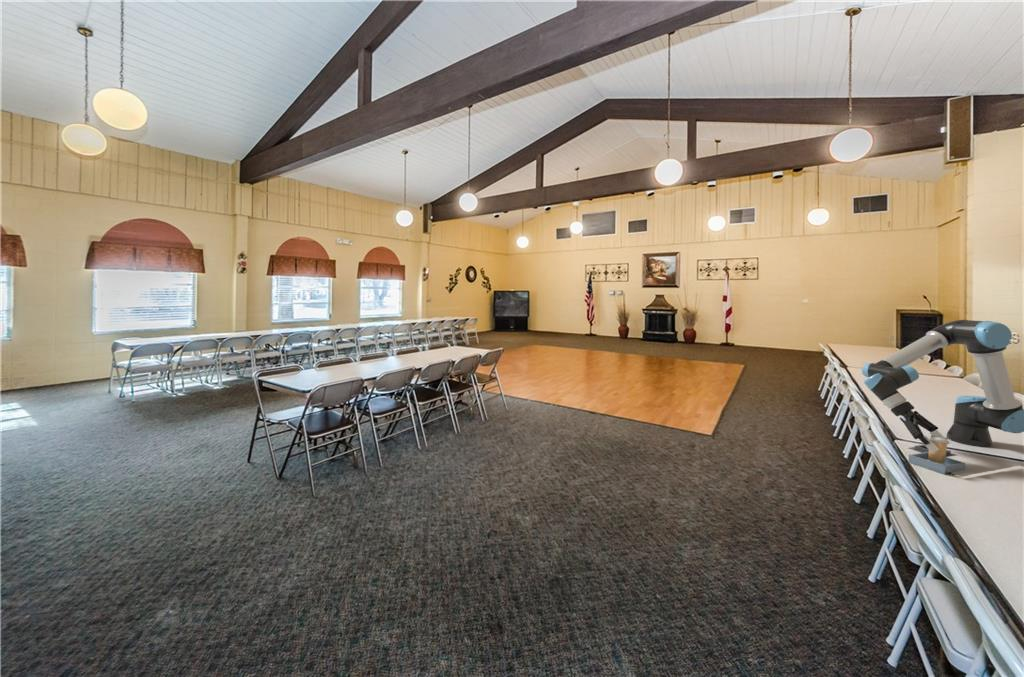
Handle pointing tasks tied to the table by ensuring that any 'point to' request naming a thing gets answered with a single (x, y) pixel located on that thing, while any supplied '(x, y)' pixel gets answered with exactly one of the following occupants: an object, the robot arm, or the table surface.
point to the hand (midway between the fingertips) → (941, 447)
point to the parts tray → (948, 466)
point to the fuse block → (924, 449)
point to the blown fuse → (939, 454)
